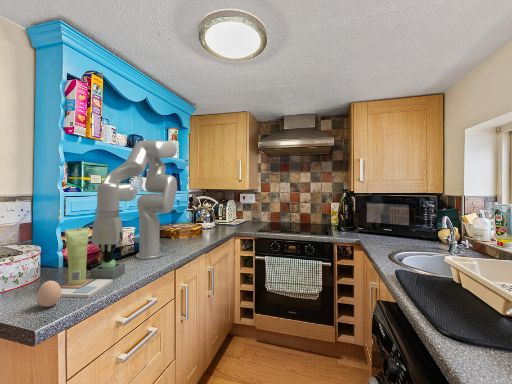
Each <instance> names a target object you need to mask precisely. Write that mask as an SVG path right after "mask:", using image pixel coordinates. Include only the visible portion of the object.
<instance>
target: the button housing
mask: <svg viewBox="0 0 512 384" xmlns="http://www.w3.org/2000/svg"><path fill="white" fill-rule="evenodd" d="M125 273H126V263H125V262H122V263H121V262H116V267H114V268H113V269H102V264H100V265H97V266H96V267H93V268H91V269H90V279H112V280H113V281H115V280H117V279H118V278H119V277H121V276H122V275H124V274H125Z"/></svg>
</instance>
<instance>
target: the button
mask: <svg viewBox="0 0 512 384" xmlns="http://www.w3.org/2000/svg"><path fill="white" fill-rule="evenodd" d="M116 263H117V262H116V259H112V260H111V261H109V262H103V260H102V261H101V265H102V269H113V268H114V267H116Z"/></svg>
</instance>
